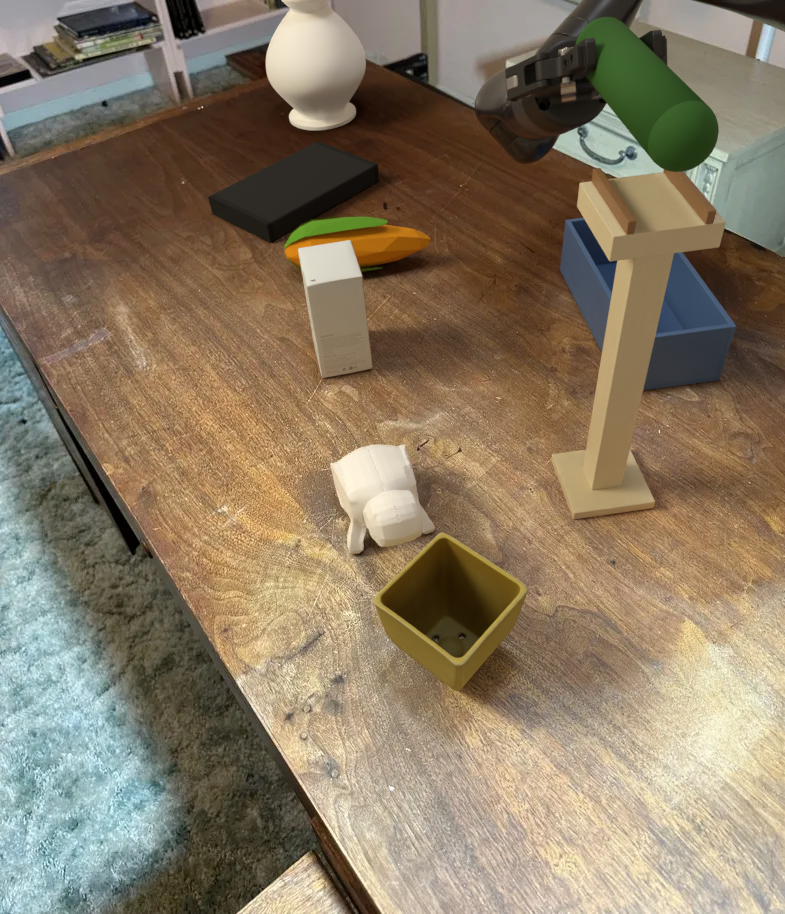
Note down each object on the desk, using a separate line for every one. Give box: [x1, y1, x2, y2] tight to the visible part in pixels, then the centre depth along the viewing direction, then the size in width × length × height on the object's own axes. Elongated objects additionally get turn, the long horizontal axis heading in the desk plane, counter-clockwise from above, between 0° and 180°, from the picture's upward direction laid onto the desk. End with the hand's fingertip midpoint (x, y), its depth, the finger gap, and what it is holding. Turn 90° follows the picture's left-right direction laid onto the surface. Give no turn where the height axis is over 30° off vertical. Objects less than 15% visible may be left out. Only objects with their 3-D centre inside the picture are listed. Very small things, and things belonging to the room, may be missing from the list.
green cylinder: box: [575, 17, 720, 172], centre depth 55 cm, size 20×4×4 cm, turn 7°
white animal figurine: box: [330, 443, 436, 555], centre depth 72 cm, size 9×8×15 cm
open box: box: [559, 217, 737, 392], centre depth 92 cm, size 11×25×8 cm, turn 7°
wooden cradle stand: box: [550, 167, 727, 520], centre depth 66 cm, size 8×9×31 cm
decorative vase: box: [265, 0, 367, 131], centre depth 133 cm, size 18×18×25 cm
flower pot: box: [373, 531, 529, 692], centre depth 62 cm, size 9×9×9 cm
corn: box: [283, 216, 432, 273], centre depth 104 cm, size 7×8×20 cm
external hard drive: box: [207, 140, 380, 243], centre depth 121 cm, size 14×23×3 cm, turn 137°
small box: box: [298, 240, 374, 379], centre depth 89 cm, size 8×6×13 cm
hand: (623, 49), depth 56 cm, fingers closed on green cylinder, 4 cm apart
